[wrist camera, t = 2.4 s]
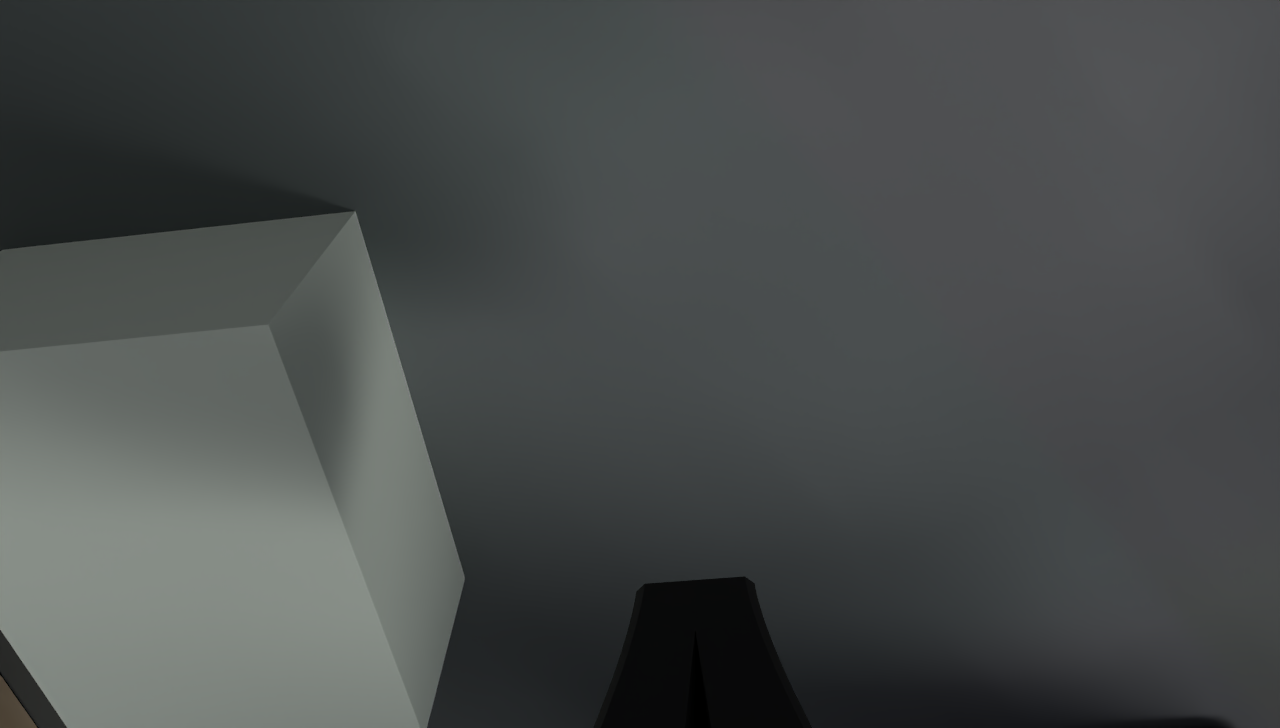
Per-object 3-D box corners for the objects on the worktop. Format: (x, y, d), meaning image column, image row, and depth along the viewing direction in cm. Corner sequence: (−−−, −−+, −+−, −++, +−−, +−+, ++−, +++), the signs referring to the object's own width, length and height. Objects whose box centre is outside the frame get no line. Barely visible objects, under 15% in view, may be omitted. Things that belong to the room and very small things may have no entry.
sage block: (359, 205, 15) (268, 325, 11) (467, 569, 19) (424, 738, 15) (11, 244, 15) (-178, 369, 12) (190, 590, 19) (88, 759, 16)
